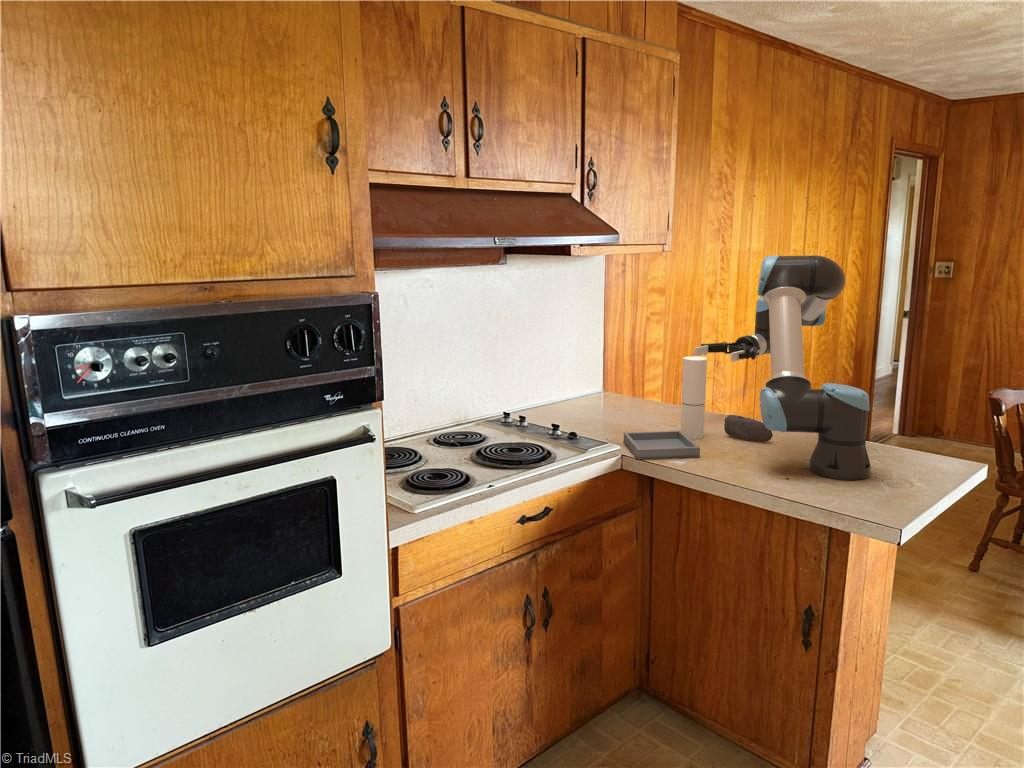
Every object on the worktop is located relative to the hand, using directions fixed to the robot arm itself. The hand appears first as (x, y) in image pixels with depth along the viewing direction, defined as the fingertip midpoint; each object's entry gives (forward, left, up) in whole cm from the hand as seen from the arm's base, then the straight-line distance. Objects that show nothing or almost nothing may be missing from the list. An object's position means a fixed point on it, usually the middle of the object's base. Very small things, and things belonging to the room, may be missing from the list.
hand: (713, 354), depth 232 cm
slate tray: (-20, +22, -25) cm, 39 cm away
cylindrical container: (-7, +8, -25) cm, 27 cm away
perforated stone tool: (-13, -8, -25) cm, 29 cm away
